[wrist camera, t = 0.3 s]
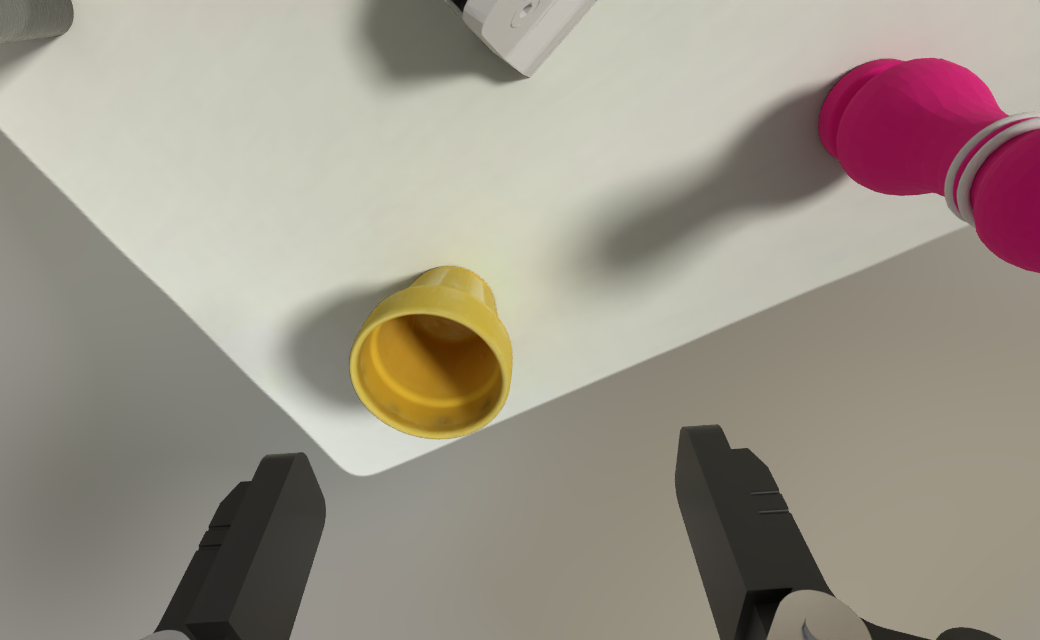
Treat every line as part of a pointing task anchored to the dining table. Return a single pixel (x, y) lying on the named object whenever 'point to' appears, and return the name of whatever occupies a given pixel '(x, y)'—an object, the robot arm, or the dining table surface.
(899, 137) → the pepper mill
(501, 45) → the white game console
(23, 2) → the pin
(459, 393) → the plant pot
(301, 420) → the dining table surface
